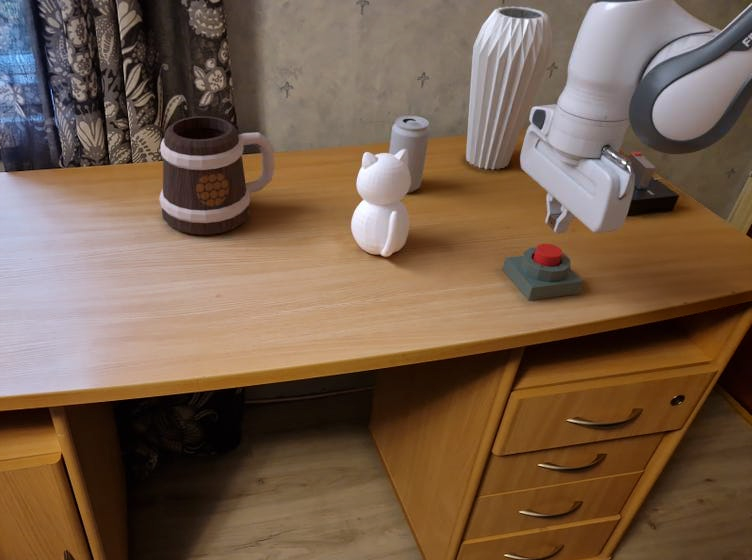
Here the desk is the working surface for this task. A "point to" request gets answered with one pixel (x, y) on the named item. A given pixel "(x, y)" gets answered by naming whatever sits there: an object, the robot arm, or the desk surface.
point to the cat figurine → (382, 203)
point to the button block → (541, 276)
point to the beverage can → (411, 145)
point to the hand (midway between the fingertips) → (555, 228)
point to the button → (548, 255)
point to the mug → (208, 175)
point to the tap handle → (641, 170)
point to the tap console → (652, 199)
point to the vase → (505, 81)
